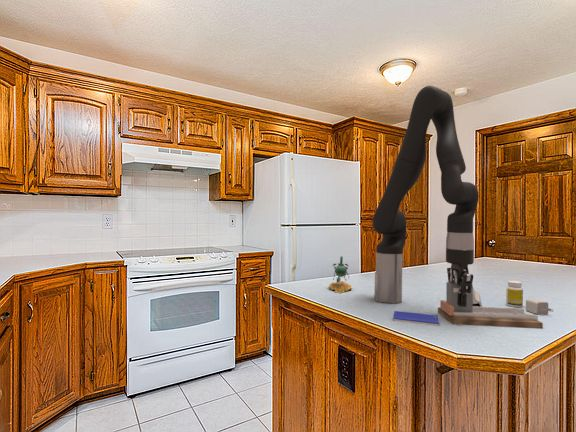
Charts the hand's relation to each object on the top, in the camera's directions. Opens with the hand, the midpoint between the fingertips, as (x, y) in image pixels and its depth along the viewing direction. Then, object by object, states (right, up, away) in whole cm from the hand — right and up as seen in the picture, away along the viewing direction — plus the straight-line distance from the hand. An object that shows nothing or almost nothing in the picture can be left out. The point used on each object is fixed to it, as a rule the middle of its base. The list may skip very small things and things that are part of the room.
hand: (458, 304), depth 101 cm
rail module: (0, -2, 0) cm, 2 cm away
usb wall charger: (+29, -5, +6) cm, 31 cm away
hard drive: (-14, -5, -2) cm, 15 cm away
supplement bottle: (+28, -5, +16) cm, 32 cm away
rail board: (+8, -4, -1) cm, 9 cm away
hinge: (+15, -5, +23) cm, 28 cm away
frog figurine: (-29, -4, +39) cm, 49 cm away
